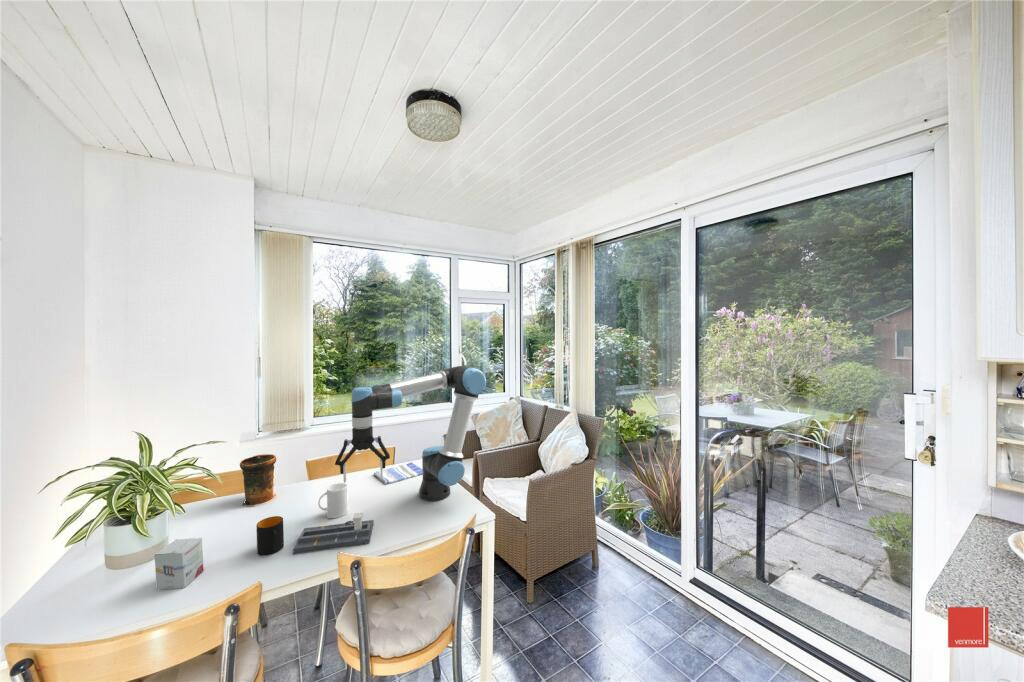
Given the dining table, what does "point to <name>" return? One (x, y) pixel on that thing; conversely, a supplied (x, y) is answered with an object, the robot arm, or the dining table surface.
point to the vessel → (258, 479)
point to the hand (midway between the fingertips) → (363, 478)
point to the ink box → (178, 563)
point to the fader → (357, 520)
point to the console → (333, 537)
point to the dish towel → (399, 473)
